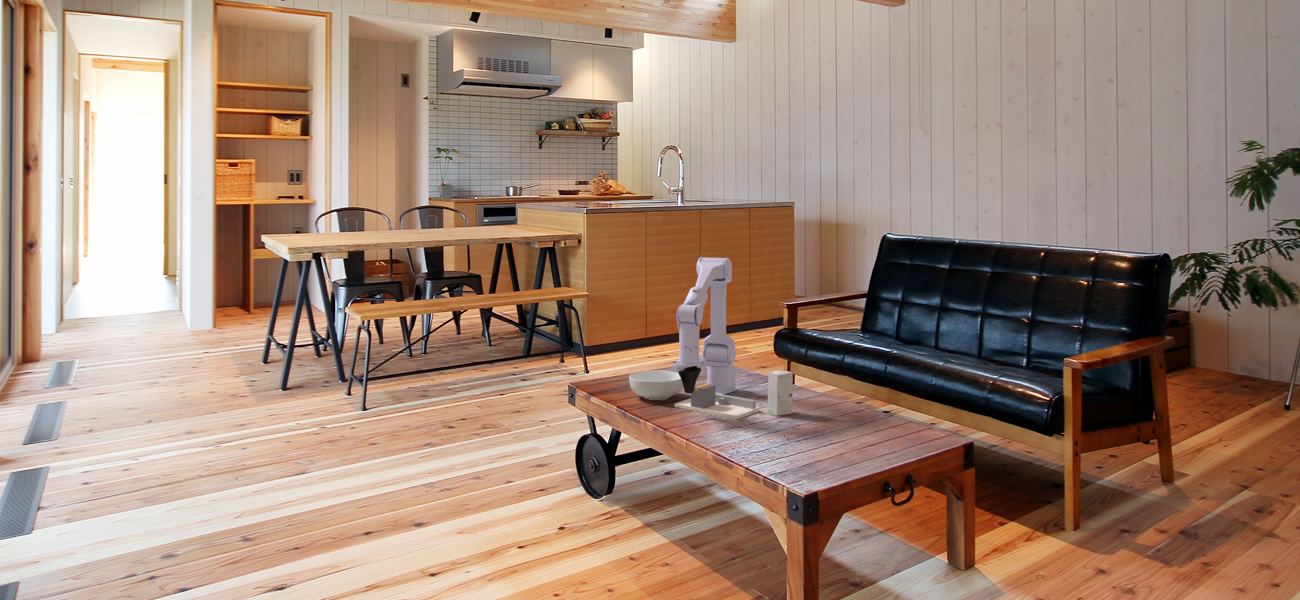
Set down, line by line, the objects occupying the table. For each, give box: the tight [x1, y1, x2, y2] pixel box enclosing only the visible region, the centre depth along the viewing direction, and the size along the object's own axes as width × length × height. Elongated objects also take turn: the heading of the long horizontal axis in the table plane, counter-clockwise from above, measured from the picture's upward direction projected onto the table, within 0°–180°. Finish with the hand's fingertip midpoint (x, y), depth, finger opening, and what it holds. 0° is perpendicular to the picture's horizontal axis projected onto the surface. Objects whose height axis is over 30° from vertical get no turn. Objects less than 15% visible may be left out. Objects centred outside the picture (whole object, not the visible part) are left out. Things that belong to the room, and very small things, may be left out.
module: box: [690, 382, 716, 409], centre depth 250 cm, size 6×4×6 cm
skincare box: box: [767, 369, 794, 417], centre depth 245 cm, size 6×4×12 cm
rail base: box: [674, 393, 760, 420], centre depth 251 cm, size 12×22×3 cm, turn 52°
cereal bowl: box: [628, 370, 684, 401], centre depth 264 cm, size 17×17×7 cm
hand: (688, 392), depth 244 cm, fingers closed
